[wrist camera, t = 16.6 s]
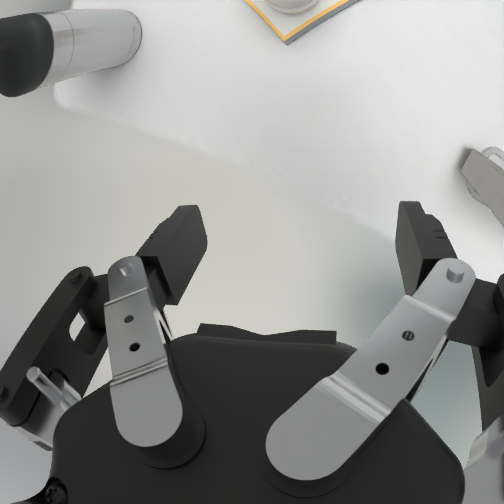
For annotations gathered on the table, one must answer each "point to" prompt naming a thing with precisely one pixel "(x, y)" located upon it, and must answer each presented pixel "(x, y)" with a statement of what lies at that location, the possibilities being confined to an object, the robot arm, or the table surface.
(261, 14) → the board
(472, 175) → the network device
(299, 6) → the plastic bottle
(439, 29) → the table surface
